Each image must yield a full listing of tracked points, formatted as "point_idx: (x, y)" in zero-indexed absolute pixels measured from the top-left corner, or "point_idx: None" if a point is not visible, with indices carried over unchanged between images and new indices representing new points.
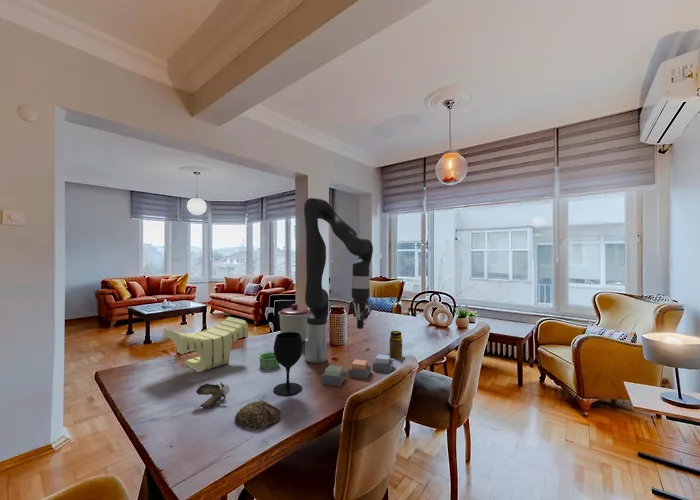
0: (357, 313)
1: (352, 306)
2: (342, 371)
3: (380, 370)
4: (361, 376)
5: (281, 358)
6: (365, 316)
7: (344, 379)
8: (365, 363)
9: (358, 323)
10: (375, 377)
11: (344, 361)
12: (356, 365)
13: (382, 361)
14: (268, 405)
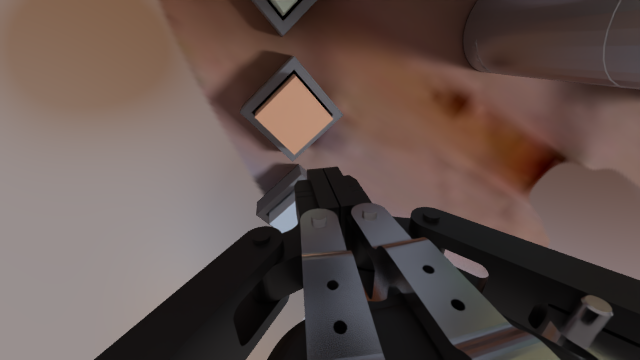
0: (378, 255)
1: (596, 309)
2: (282, 15)
3: (279, 183)
4: (254, 94)
5: None
6: (256, 294)
7: (267, 19)
8: (270, 131)
9: (324, 188)
10: (241, 142)
11: (416, 121)
12: (280, 91)
13: (283, 205)
14: None
